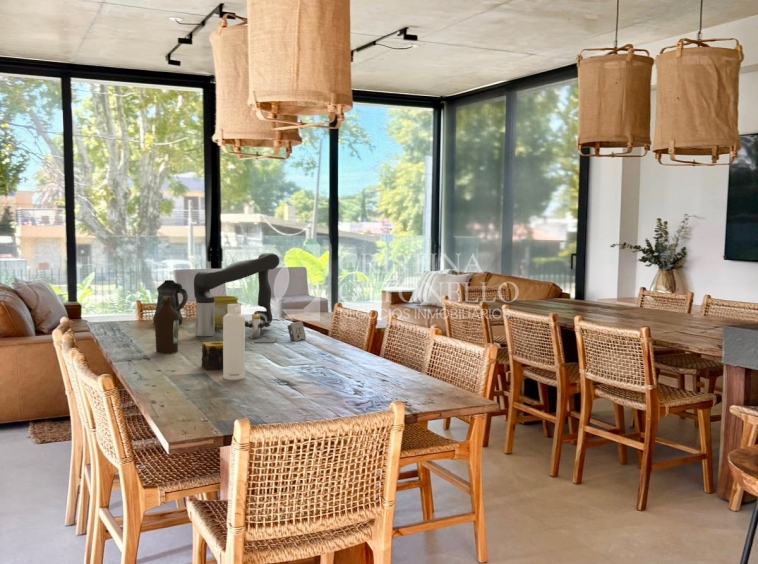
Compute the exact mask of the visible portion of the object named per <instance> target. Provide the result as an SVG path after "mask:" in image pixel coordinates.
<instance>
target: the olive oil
mask: <svg viewBox="0 0 758 564" xmlns="http://www.w3.org/2000/svg"><path fill="white" fill-rule="evenodd" d="M154 314H155V313H154ZM154 321H155V324H154V334H155V335H154V337H155V350H156V351H155V352H156V353H157V354H176V353H178V351H179V346H178V345H179V330H180V329H179V325H180V324H179V316H178V313H177V312H176V310H175V309H174V308H173V307H172V306H171V305H170V297H163V306H162V307H161V308H160V309H159V310H158V311H157V312H156V314H155V318H154V320H153V322H154Z"/></svg>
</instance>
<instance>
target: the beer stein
mask: <svg viewBox="0 0 758 564" xmlns="http://www.w3.org/2000/svg"><path fill="white" fill-rule="evenodd" d="M156 291H157V292H158V293H157V301H156V307H155V311H154V314H153V317H152V320H153V324H154V325H155V321H154V318H155V314H156V312H157V311H158V310H159V309H160V308H161V307H162V306H163V297H170V305H171V306H172V307H173V308H174V309H175V310H176V312H177V313H178V316H179V325H181V324H182V322H183V320H184V319H183V317H184V316H183V314H182V312H181V310H182V309H183V308H184V306H185V305H186V304H187V302H188V297H189V295H188V292H187V290H186V289H184V288H183V286H182V284H181V283H179V282H175V281H174V280H172V279H166V280H164V282H163V283H161V284H160V285H159V286H158V287H157V288H156ZM179 294H180V295H182V300H181V302H180V298H179Z"/></svg>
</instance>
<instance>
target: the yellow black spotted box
mask: <svg viewBox="0 0 758 564" xmlns="http://www.w3.org/2000/svg"><path fill="white" fill-rule="evenodd" d="M201 367H202V368H203V369H205V370H206V371H217V370H223V340H220V341H203V342H202V343H201Z"/></svg>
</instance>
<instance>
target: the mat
mask: <svg viewBox="0 0 758 564" xmlns="http://www.w3.org/2000/svg"><path fill="white" fill-rule="evenodd" d="M276 342H277V338H257V339H255V340H254V341H253V343H254V344H275V343H276Z"/></svg>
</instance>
